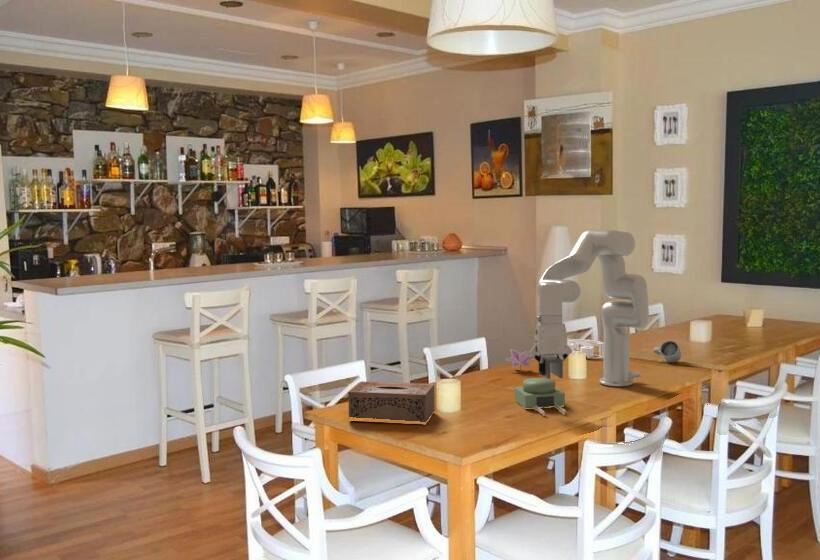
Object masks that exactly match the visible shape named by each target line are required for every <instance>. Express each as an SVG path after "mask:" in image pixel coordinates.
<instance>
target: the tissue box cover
mask: <svg viewBox="0 0 820 560" xmlns="http://www.w3.org/2000/svg"><path fill="white" fill-rule="evenodd" d="M347 393H348V394H347V395H348V396H347V397H348V399H347V400H348V418H349V417H353V418H354V417H356V418H373V419H375V418H376V419H390V420H405V421H420V422H426V421H427V420H428V419H429V417H430V416H431V415H432V413H433V412H434V411H436V410H435V409H436V407H435V384H434V383H413V382H411V383H410V382H409V383H408V382H389V381H388V382H384V381H381V382H380V381H379V382H378V381H360V382H358V383H357V384H356V385H355V386H354V387H352V388H351V389H350V390H349V391H348V392H347Z"/></svg>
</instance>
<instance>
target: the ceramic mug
mask: <svg viewBox="0 0 820 560" xmlns="http://www.w3.org/2000/svg"><path fill="white" fill-rule="evenodd" d="M653 353H654V354H655V355H658V356H662V357H663V358H664V359H665V360H666V361H667V362H668V363H673V364H675V363H677V362H679V361H680V360H681V358H682V351H681V349H680V346H679V344H678V343H677V342H676V341H674V340H666V341H663V342H662V343H661V345H660V346H654V348H653Z"/></svg>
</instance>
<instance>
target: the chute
mask: <svg viewBox="0 0 820 560" xmlns="http://www.w3.org/2000/svg"><path fill="white" fill-rule="evenodd" d="M563 363H564V362H563V360H562V359H560V358H558V357H557V356H556V355H545V358H544V364H545V375H542V376H543V377H544V378H546V379H551V374H553V375H555V376H556V377H557V378H559V379H563V377H564V376H563V373H564V371H563V370H564V364H563ZM538 373H539V374H540V372H539V371H538Z"/></svg>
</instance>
